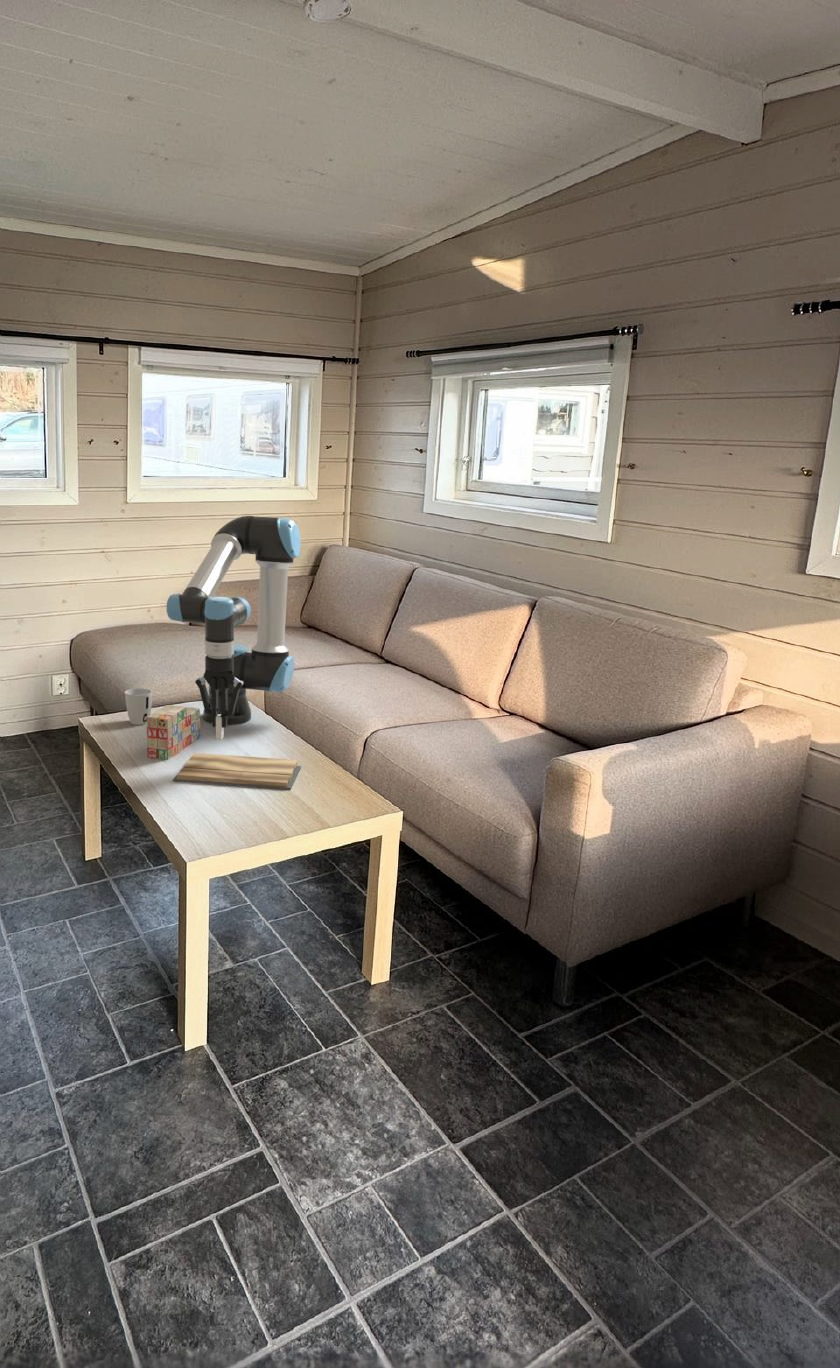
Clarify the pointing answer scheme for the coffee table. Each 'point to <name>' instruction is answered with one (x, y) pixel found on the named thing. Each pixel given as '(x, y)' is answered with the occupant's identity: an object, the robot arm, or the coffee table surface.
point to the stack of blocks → (172, 730)
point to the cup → (138, 705)
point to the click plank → (241, 764)
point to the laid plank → (234, 777)
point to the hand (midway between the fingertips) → (219, 738)
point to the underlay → (245, 784)
